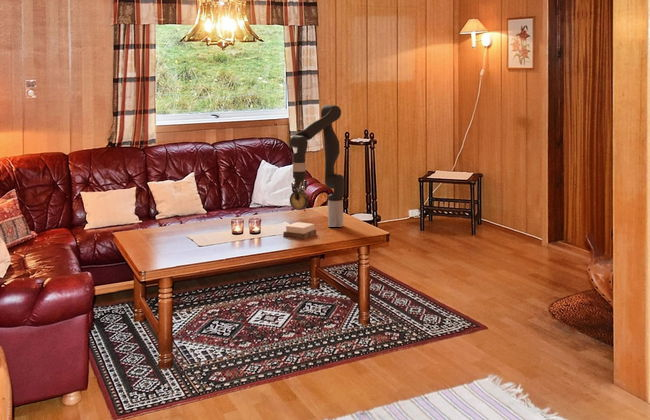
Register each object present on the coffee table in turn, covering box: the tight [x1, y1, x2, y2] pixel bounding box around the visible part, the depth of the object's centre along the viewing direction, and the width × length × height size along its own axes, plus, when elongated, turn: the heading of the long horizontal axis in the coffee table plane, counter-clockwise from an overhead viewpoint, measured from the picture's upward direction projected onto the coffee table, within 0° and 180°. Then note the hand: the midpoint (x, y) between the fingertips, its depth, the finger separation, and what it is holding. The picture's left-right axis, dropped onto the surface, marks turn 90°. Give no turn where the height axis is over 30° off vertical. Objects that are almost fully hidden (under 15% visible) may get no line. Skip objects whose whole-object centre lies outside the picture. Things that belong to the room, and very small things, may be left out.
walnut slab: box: [282, 229, 317, 240], centre depth 421 cm, size 14×14×4 cm
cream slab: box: [285, 221, 315, 234], centre depth 421 cm, size 12×12×4 cm
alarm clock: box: [289, 186, 310, 213], centre depth 417 cm, size 11×5×16 cm, turn 62°
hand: (299, 198), depth 417 cm, fingers closed on alarm clock, 5 cm apart
